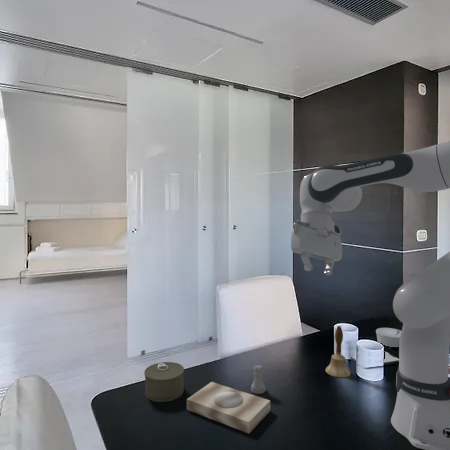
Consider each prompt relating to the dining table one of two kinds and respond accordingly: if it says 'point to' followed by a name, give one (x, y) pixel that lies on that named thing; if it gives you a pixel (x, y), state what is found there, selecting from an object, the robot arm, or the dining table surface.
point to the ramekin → (388, 336)
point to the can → (164, 381)
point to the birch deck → (229, 406)
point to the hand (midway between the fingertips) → (318, 272)
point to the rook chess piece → (258, 380)
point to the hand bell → (338, 358)
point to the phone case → (388, 359)
